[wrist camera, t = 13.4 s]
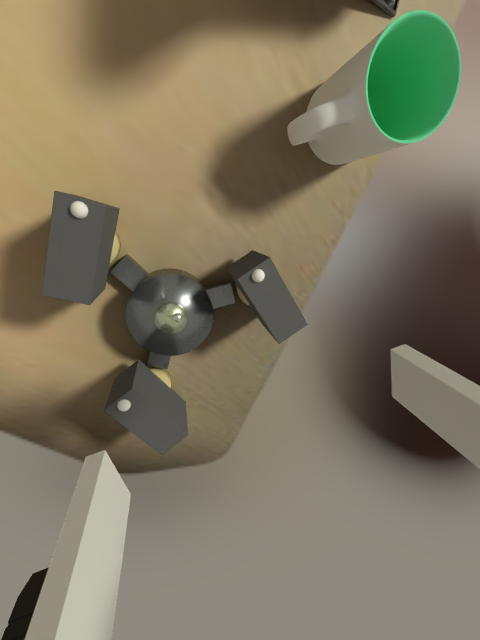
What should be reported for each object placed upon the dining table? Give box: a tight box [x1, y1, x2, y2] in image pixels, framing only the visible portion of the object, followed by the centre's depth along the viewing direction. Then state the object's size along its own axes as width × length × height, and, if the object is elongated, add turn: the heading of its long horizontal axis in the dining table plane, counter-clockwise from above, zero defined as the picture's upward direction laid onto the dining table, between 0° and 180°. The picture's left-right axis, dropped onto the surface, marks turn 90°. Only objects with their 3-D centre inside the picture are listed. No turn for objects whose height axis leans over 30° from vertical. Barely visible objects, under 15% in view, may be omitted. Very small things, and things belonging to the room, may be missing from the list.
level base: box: [110, 254, 235, 369], centre depth 32 cm, size 14×12×5 cm
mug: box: [287, 10, 461, 165], centre depth 26 cm, size 12×8×10 cm
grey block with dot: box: [42, 191, 121, 305], centre depth 26 cm, size 4×8×9 cm, turn 162°
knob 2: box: [226, 250, 307, 344], centre depth 31 cm, size 4×8×9 cm, turn 32°
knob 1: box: [104, 360, 188, 455], centre depth 32 cm, size 4×8×9 cm, turn 37°
